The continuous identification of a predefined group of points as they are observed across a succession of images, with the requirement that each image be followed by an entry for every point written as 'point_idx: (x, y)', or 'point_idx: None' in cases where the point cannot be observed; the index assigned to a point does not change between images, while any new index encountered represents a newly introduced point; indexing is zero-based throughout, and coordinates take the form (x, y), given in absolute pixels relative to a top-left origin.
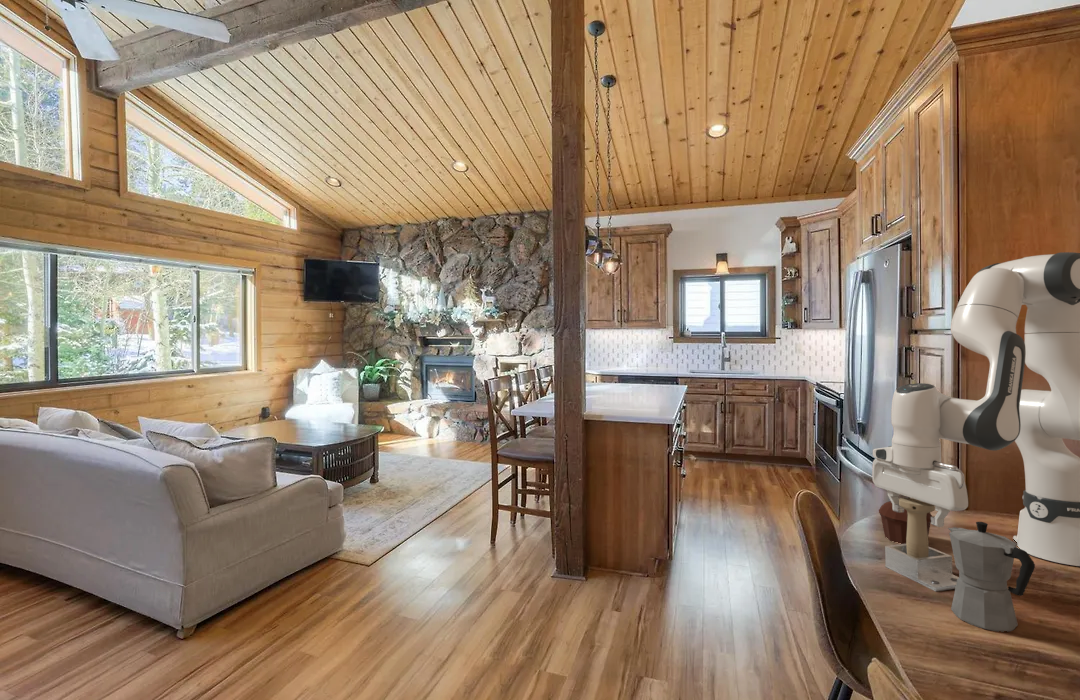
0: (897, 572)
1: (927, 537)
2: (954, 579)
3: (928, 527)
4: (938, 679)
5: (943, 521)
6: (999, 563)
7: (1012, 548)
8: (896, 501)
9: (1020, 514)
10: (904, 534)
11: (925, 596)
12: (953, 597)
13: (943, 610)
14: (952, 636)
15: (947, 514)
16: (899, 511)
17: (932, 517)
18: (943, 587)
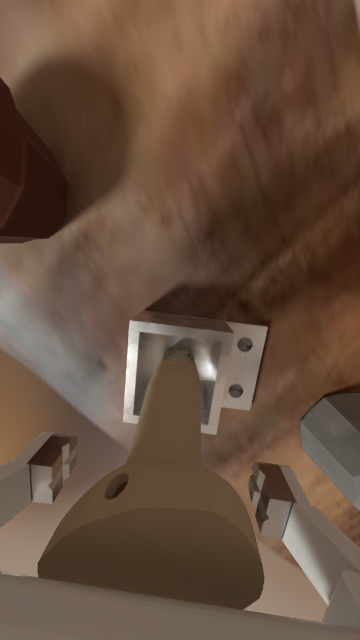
0: None
1: (199, 400)
2: (245, 346)
3: (22, 125)
4: None
5: (298, 487)
6: None
7: None
8: (13, 499)
9: None
10: (31, 230)
11: (251, 436)
12: (319, 467)
13: (294, 455)
14: (343, 511)
15: (353, 543)
16: (74, 462)
17: (270, 535)
18: (253, 392)
